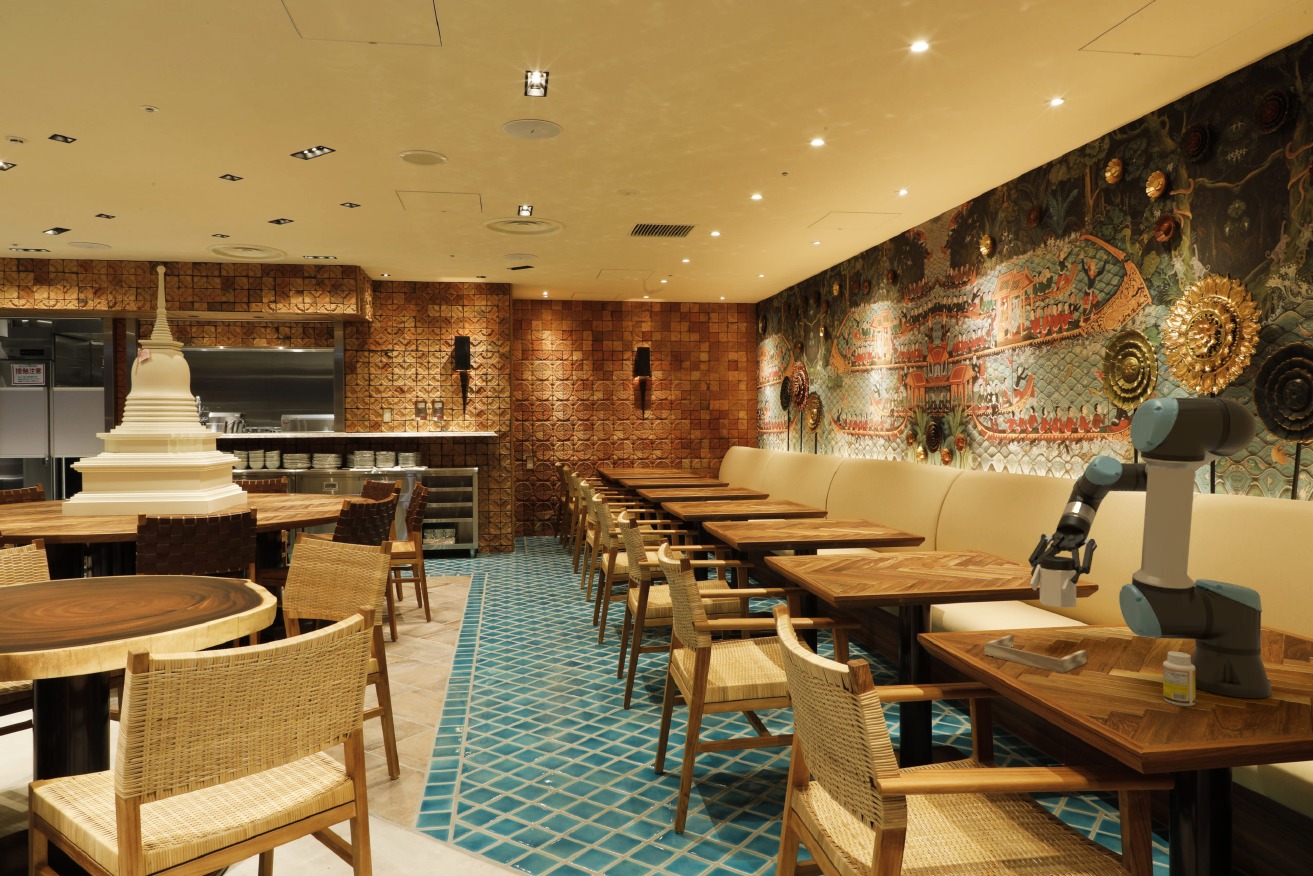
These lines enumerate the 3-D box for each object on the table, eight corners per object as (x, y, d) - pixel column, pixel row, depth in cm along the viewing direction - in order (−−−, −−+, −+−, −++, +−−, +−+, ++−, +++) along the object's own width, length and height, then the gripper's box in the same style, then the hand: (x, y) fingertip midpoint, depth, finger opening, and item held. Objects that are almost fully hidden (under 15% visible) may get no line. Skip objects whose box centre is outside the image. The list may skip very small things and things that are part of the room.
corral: (1009, 646, 198) (1009, 634, 198) (1086, 662, 184) (1086, 650, 184) (984, 655, 190) (984, 643, 190) (1062, 673, 175) (1062, 660, 175)
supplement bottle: (1180, 697, 159) (1180, 649, 159) (1202, 707, 153) (1202, 657, 153) (1156, 698, 158) (1156, 650, 158) (1177, 707, 153) (1177, 658, 153)
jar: (1037, 600, 199) (1037, 555, 199) (1071, 602, 196) (1071, 556, 197) (1042, 606, 191) (1042, 560, 191) (1078, 609, 188) (1078, 561, 188)
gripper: (1120, 535, 196) (1095, 605, 186) (1041, 528, 212) (1014, 592, 202) (1112, 516, 193) (1086, 586, 183) (1033, 510, 209) (1005, 574, 198)
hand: (1048, 589), depth 192 cm, fingers closed on jar, 7 cm apart
